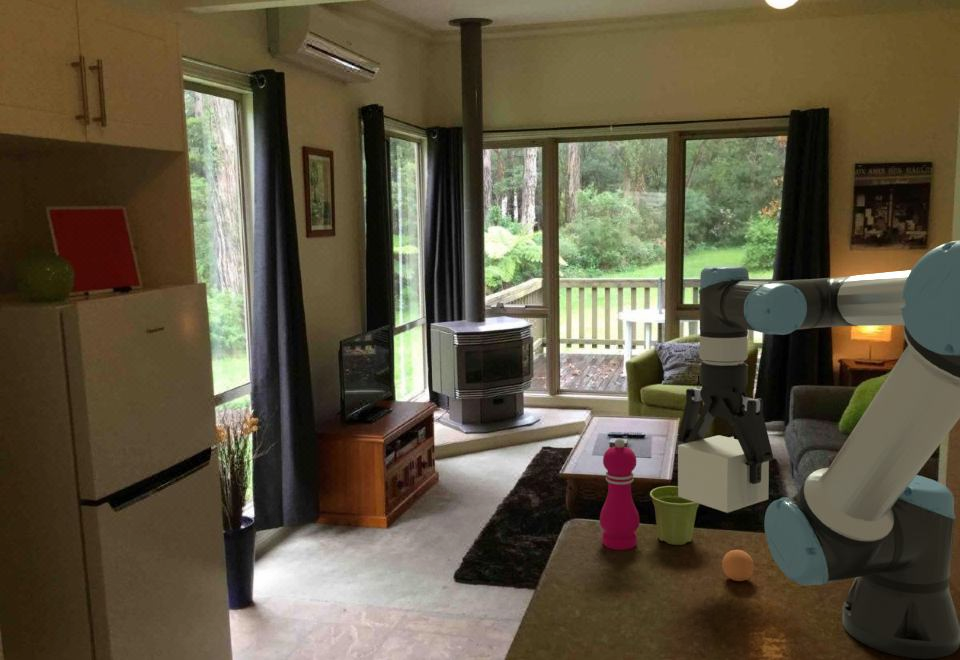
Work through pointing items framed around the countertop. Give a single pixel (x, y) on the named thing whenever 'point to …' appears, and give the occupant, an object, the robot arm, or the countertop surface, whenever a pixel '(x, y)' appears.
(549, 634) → the countertop surface
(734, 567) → the ball
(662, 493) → the plant pot
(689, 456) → the cream cuboid
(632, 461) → the pepper mill
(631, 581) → the countertop surface
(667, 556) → the countertop surface
